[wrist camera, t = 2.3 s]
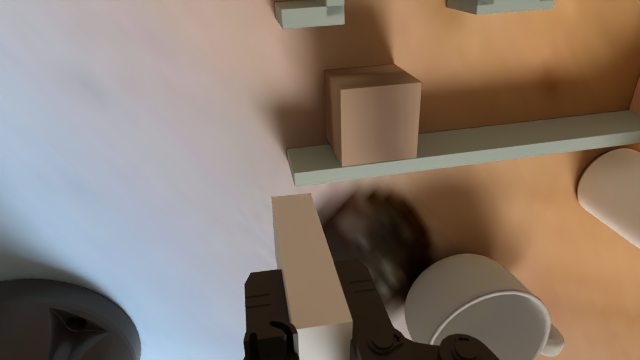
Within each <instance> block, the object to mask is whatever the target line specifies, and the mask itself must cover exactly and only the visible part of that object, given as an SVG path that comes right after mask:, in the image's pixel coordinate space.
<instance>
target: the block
mask: <svg viewBox="0 0 640 360" xmlns="http://www.w3.org/2000/svg"><path fill="white" fill-rule="evenodd" d="M324 77H325V105H326V134H327V140H328V141H329V143H330V145H331V147H332V149H333V151H334V153H335V155H336V156H337V158H338V160H339V162H340V164H341V166H342V167H344V166H352V165H360V164H369V163H377V162H385V161H394V160H402V159H410V158H416V156H417V142H418V129H419V115H420V101H421V87H422V82H421V81H419V80H418V79H416V78H415V77H413V76H412V75H410V74H409V73H407V72H406V71H404V70H403V69H401V68H400V67H398V66H397V65H395V64H389V65H377V66H366V67H354V68H343V69H332V70H324Z"/></svg>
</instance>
